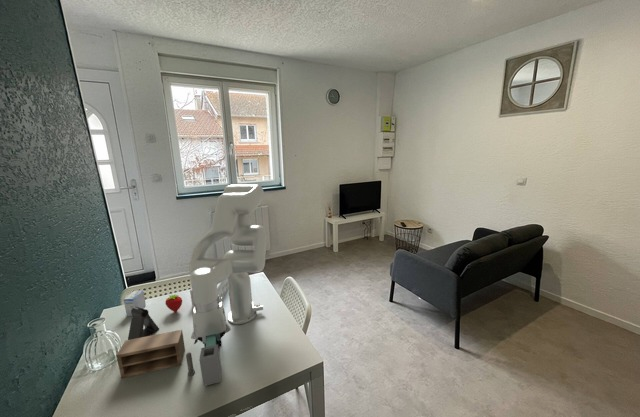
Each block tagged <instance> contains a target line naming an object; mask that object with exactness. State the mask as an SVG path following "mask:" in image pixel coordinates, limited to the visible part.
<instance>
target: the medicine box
mask: <svg viewBox="0 0 640 417" xmlns="http://www.w3.org/2000/svg"><path fill="white" fill-rule="evenodd" d="M123 304H124V309H125V313H126V316H127V317H132V314H131V310H132V308H135V309H138V308H136V307H140V308H143V309H145V307H147V306H146V305H147V304H146V299H145V293H144V290H142V289H140V290H133V291H132V292H131V293H129V294H128V295H127V296H126V297H125V298H124V299H123Z"/></svg>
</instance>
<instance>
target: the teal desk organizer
mask: <svg viewBox="0 0 640 417" xmlns="http://www.w3.org/2000/svg"><path fill="white" fill-rule="evenodd" d="M216 338H217V336H216V334H213V335H209V336H207V341H206V347H205V346H204V347H201V348H200V356H199V359H198V360H199V365H200V371H201V372H200V373H201V379H202V384H203V387H206V386H209V385H213V384H218V383H220V382H221V380H222V364H221V363H222V362H221V357H220V350H219V348H218V344H217V345H216Z"/></svg>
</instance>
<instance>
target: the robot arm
mask: <svg viewBox="0 0 640 417" xmlns="http://www.w3.org/2000/svg"><path fill="white" fill-rule="evenodd" d="M264 194H265V192H264V189H263V187H262V186H261V185H260V184H257V183H256V184H255V183H253V184H251V183H249V184H248V183H247V184H246V183H244V184H242V183H240V184H239V183H238V184H237V183H236V184H230V185H226V186H225V187H224V189H223V193H222V194H221V195H218V198H217V201H216V206H215V209H214V214H213V218H212V223H211V228H210V229H209V230H208V232H206V233H205V234H204V235H203V236H202V237H201V238H200V239H199V241H198V242H197V243H196V245H194V248H193V250H192V253H191V256H190V261H189V270H188V271H189V277H190V285H191V288H192V292H193V298H194V305H195V307H193V311H192V324H193V330H192V333H191V336H190V338H191V340H196V339H198V341H199V342H201V343H202V345H203V346H204V347H206V341H207V336H209V335H213V334H216V336H217V338H216V345H217V344H218V348H219V351H220V347H222V345H223V344H222V338H223V337H224V336H225V334H227V333H229V332H230V331H231V325H229V323H231V324H233V325H243V324H246V323H249V322H251V321H252V320H254V319H255V318H256V316H257V314H258V313H257V312H258V311H263V310H264V305H261V304H260V303H257V304H255V303H254V301H253V296H252V295H253V294H252V282H251V277H250V275H249V273H261V272H262V271H263V270H264V268H265V264H266V253H267V252H266V251H267V240H268V239H267V231H266V228H265V227H264V226H263V225H259V224H252V213H254V212H255V211H256V210H257V208H258V207H259V206H260V204H261V203H262V201H263V200H264ZM227 238H228V239H229V242H230V245H231V246H234V247H246V248H247V247H249V248H250V247H252V248H253V249H238V248H237V249H230V250H228V251H227V252H225V253H224V254H223V258H218V257H217V258H215V257H210V258H209V257H206V254H207V253H208V251H209V249H210V248H211V247H213V246H214V245H215V244H217V243H219V242H221V241H223V240H225V239H227ZM225 279H227V280H228V289H227V290H228V297H229V306H230V311H229V312H228V314H227V316H226V313H225V312H226V311H225V309H224V305H223V302H224V297H223V298H221V297H219V295H218V290H217V284H219V283H220V282H222V281H224V280H225ZM227 321H228V322H229V323H228V322H227Z"/></svg>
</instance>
